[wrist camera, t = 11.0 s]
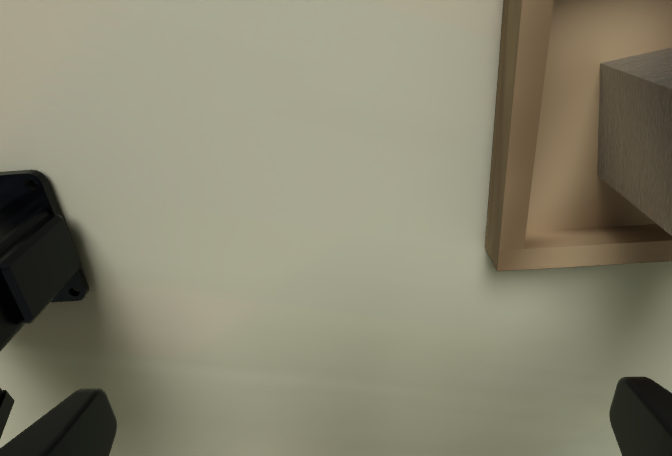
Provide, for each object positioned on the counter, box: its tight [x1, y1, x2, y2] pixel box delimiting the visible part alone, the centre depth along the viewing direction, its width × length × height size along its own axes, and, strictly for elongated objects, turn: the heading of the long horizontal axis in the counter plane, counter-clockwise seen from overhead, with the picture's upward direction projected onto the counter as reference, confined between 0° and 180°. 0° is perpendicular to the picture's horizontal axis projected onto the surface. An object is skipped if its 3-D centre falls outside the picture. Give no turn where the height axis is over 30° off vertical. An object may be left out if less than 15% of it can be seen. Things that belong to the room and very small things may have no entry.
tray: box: [485, 0, 672, 271], centre depth 18 cm, size 12×12×2 cm
